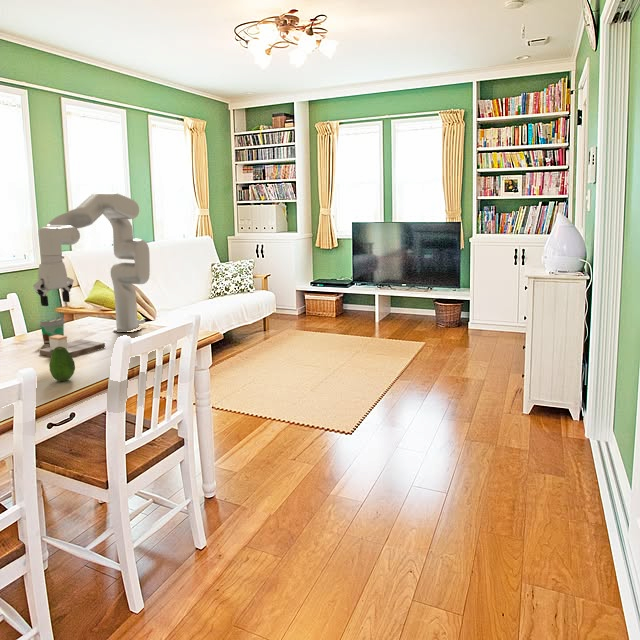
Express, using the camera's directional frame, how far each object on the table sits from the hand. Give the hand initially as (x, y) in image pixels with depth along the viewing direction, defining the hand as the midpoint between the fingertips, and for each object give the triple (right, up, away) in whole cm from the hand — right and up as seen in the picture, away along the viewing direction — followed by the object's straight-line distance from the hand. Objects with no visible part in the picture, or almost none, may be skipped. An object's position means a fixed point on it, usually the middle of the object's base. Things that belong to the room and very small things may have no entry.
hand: (55, 303), depth 226 cm
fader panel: (+3, -19, +9) cm, 21 cm away
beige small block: (0, -18, +3) cm, 18 cm away
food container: (-10, -16, +23) cm, 30 cm away
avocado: (+16, -27, -28) cm, 42 cm away
